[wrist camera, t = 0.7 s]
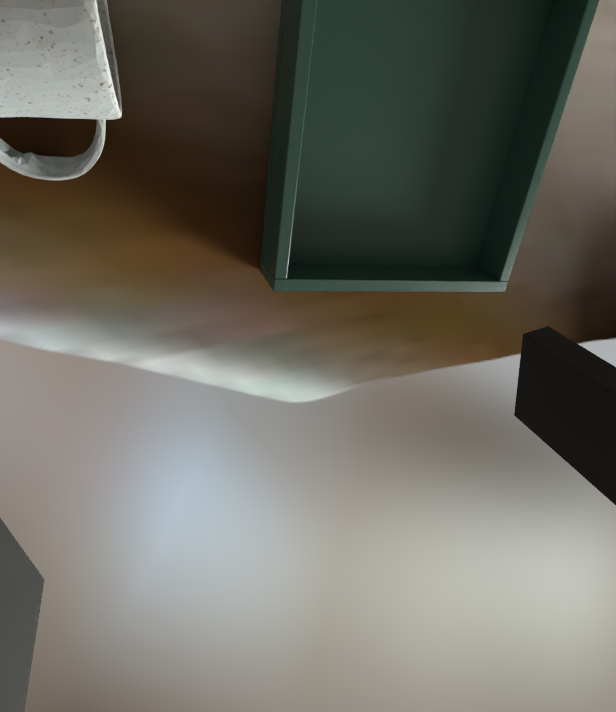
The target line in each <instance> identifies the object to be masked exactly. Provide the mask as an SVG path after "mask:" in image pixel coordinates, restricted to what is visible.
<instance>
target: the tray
mask: <svg viewBox="0 0 616 712" xmlns="http://www.w3.org/2000/svg"><path fill="white" fill-rule="evenodd" d="M598 3H599V0H282V6H281V18H280V30H279V42H278V55H277V67H276V79H275V91H274V104H273V116H272V128H271V140H270V152H269V165H268V177H267V189H266V201H265V214H264V226H263V238H262V250H261V262H260V271H261V273H262V274H263V276H264V277H265V279H266V280H267V282H268V283H269V285H270V286H271V287H272V289H273V290H274V291H480V292H504V291H505V289H506V286H507V283H508V279H509V276H510V273H511V270H512V267H513V264H514V261H515V258H516V255H517V251H518V248H519V245H520V242H521V239H522V236H523V233H524V230H525V227H526V224H527V221H528V218H529V215H530V212H531V208H532V205H533V202H534V199H535V196H536V193H537V190H538V187H539V184H540V181H541V178H542V175H543V172H544V169H545V165H546V162H547V159H548V156H549V153H550V150H551V147H552V144H553V141H554V138H555V135H556V132H557V129H558V125H559V122H560V119H561V116H562V113H563V110H564V107H565V104H566V101H567V98H568V95H569V92H570V89H571V86H572V82H573V79H574V76H575V73H576V70H577V67H578V64H579V61H580V58H581V55H582V52H583V49H584V46H585V43H586V39H587V36H588V33H589V30H590V27H591V24H592V21H593V18H594V15H595V12H596V9H597V6H598Z"/></svg>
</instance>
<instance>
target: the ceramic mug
mask: <svg viewBox="0 0 616 712" xmlns="http://www.w3.org/2000/svg"><path fill="white" fill-rule="evenodd" d="M121 116H122V104H121V94H120V84H119V76H118V68H117V61H116V57H115V51H114V42H113V35H112V29H111V24H110V18H109V12H108V4H107V1H106V0H0V117H44V118H74V119H96V120H97V127H96V133H95V137H94V140H93V142H92V144H91V146H90V147H89V149H88V150H87V151H86V152H85V153H83V154H81V155H76V156H74V157H55V156H41V155H36V154H34V153H32V152H30V153H25V154H23V153H21V152H19V151H17V150H15V149H13V148H12V147H11V146H9V145H8V144H7V143H6V142H4V141H3V140H2V139H1V138H0V163H2V164H3V165H5V166H7V167H8V168H10V169H12V170H14V171H16V172H18V173H20V174H22V175H25V176H29V177H32V178H38V179H42V180H68V179H73V178H76V177H79V176H81V175H83V174H85V173H86V172H87V171H89V170H90V169H91V168H92V167H93V165H94V164H95V163H96V162H97V160H98V158H99V157H100V155H101V153H102V150H103V146H104V142H105V132H106V120H115V119H119V118H121Z"/></svg>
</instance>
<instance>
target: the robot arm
mask: <svg viewBox="0 0 616 712" xmlns="http://www.w3.org/2000/svg"><path fill="white" fill-rule="evenodd" d="M515 416H516V417H517V418H518V419H519V420H520V421H522V422H523V423H524V424H525V425H526V426H527V427H528V428H529V429H530V430H532V431H533V432H534V433H535V434H536V435H537V436H538V437H539V438H541V439H542V440H543V441H544V442H545V443H546V444H547V445H549V446H550V447H551V448H552V449H553V450H554V451H555V452H556V453H557V454H559V455H560V456H561V457H562V458H563V459H564V460H565V461H567V462H568V463H569V464H570V465H571V466H572V467H574V468H575V469H576V470H577V471H578V472H579V473H580V474H581V475H582V476H583V477H585V478H586V479H587V480H588V481H589V482H590V483H591V484H592V485H594V486H595V487H596V488H597V489H598V490H599V491H600V492H601V493H603V494H604V495H605V496H606V497H607V498H608V499H609V500H610V501H612V502H613V503H614V504H615V505H616V367H614V366H613V365H611V364H609V363H608V362H606V361H604V360H603V359H601V358H600V357H598V356H596V355H595V354H593V353H591V352H590V351H588V350H586V349H585V348H583V347H581V346H580V345H578V344H577V343H575V342H573V341H572V340H570V339H568V338H567V337H565V336H563V335H562V334H560V333H558V332H557V331H555V330H554V329H552V328H550V327H549V326H547V327H544V328H541V329H538V330H534V331H531V332H528V333H525V334H523V340H522V349H521V359H520V368H519V377H518V386H517V395H516V405H515ZM43 585H44V578H43V577H42V576H41V574H40V573H39V571H38V570H37V569H36V567H35V566H34V564H33V563H32V562H31V560H30V559H29V557H28V556H27V555H26V553H25V552H24V550H23V549H22V548H21V547H20V545H19V543H18V542H17V541H16V539H15V538H14V537H13V536H12V534H11V532H10V531H9V530H8V528H7V527H6V525H5V524H4V523H3V521H2V520H1V518H0V712H24V709H25V703H26V696H27V689H28V682H29V677H30V670H31V664H32V657H33V651H34V644H35V637H36V631H37V625H38V618H39V612H40V605H41V598H42V592H43Z"/></svg>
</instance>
